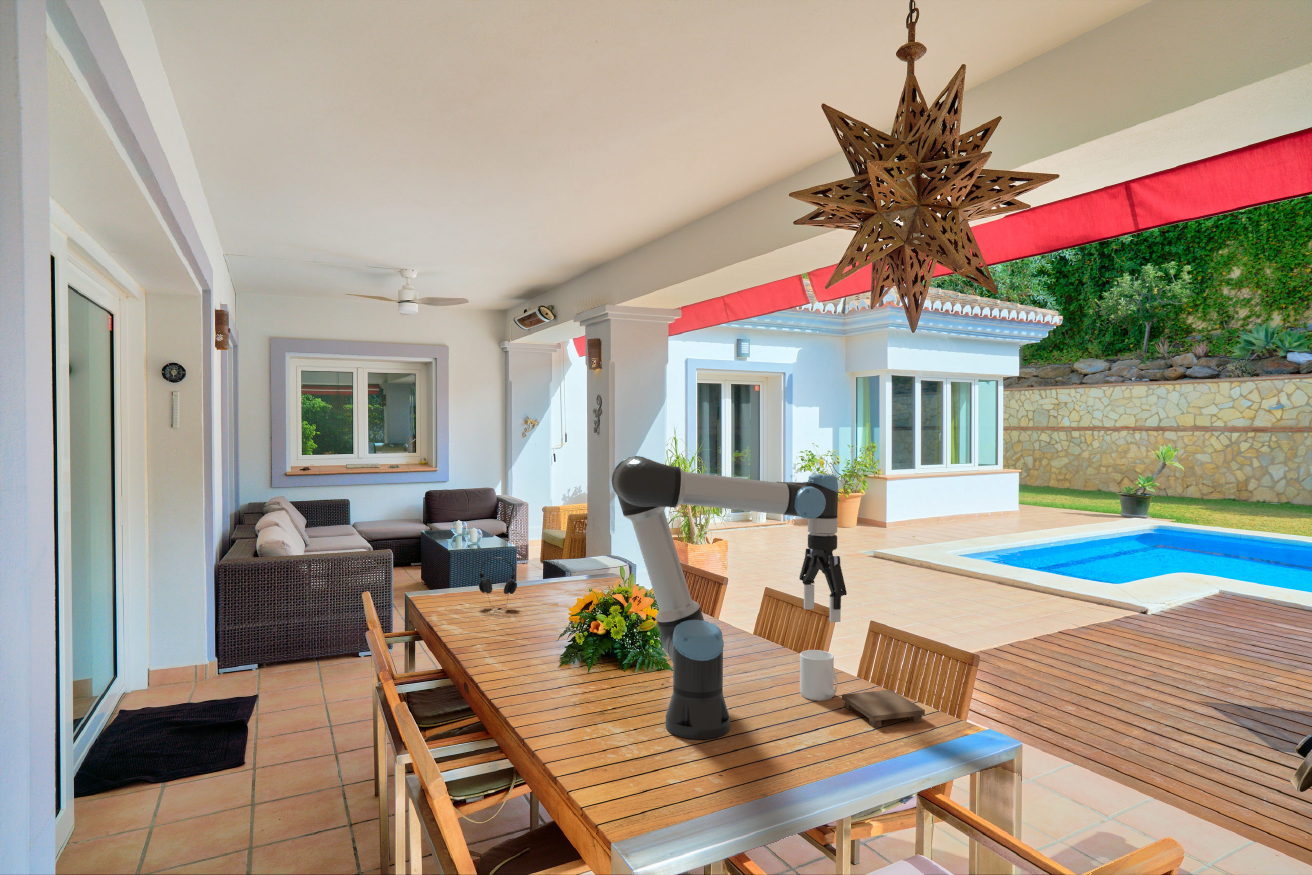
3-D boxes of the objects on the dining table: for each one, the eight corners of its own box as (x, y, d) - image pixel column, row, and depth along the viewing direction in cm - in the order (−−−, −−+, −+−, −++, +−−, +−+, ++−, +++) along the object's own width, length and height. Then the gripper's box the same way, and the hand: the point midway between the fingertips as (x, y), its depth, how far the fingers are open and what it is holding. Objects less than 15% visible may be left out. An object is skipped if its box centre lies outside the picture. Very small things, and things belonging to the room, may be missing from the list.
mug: (823, 708, 178) (823, 665, 178) (793, 692, 189) (793, 652, 189) (849, 702, 182) (849, 660, 182) (818, 687, 193) (818, 647, 193)
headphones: (471, 612, 272) (471, 559, 272) (482, 605, 284) (483, 555, 284) (508, 613, 270) (508, 561, 270) (519, 606, 281) (519, 556, 281)
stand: (873, 728, 166) (873, 715, 166) (841, 706, 180) (841, 694, 180) (924, 722, 170) (924, 709, 170) (890, 700, 183) (890, 689, 183)
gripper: (861, 540, 175) (860, 626, 175) (812, 527, 199) (811, 603, 199) (834, 541, 173) (833, 628, 173) (787, 527, 197) (786, 604, 197)
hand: (821, 615), depth 186 cm, fingers open, 13 cm apart
